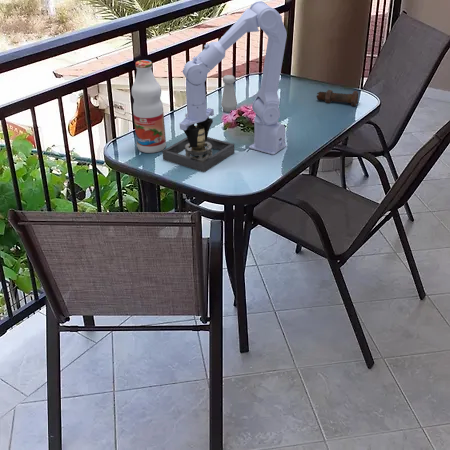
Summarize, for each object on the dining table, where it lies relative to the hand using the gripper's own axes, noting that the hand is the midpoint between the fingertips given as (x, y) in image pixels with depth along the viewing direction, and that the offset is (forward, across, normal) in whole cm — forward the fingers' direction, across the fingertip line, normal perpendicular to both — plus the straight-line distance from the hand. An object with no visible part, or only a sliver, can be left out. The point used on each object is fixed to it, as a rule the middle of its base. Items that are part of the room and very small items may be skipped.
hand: (198, 143), depth 183 cm
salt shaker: (+4, -37, -14) cm, 40 cm away
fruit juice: (+4, +3, -17) cm, 18 cm away
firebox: (+4, 0, 0) cm, 4 cm away
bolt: (+5, -65, +16) cm, 67 cm away
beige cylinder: (+2, 0, 0) cm, 2 cm away
